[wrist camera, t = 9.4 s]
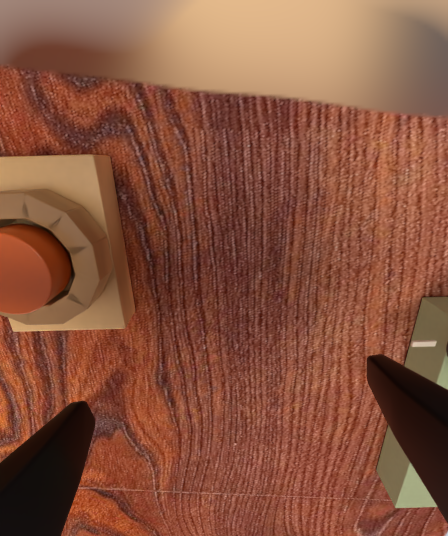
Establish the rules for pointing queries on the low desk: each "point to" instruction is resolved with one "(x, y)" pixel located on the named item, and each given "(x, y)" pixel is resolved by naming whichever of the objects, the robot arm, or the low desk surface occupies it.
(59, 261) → the button
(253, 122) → the low desk surface
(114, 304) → the button block
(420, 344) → the dial panel
